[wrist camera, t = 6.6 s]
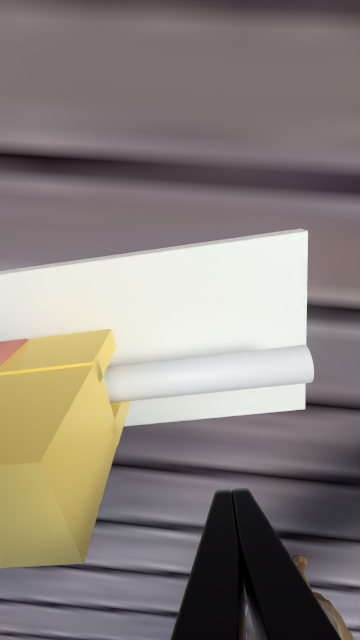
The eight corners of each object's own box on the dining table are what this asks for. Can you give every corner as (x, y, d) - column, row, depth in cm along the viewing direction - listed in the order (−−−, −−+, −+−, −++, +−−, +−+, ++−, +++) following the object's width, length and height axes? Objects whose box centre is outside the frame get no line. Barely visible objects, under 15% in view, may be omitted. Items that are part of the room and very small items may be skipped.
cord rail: (300, 228, 15) (410, 267, 7) (299, 398, 19) (371, 534, 11) (-117, 287, 17) (-361, 366, 9) (-40, 431, 20) (-169, 567, 13)
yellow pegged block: (111, 328, 14) (38, 459, 7) (130, 401, 16) (84, 565, 9) (29, 338, 15) (-114, 472, 8) (56, 409, 16) (-44, 572, 9)
